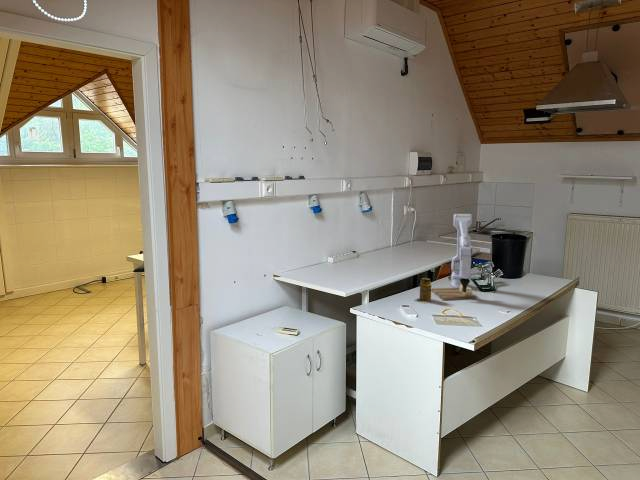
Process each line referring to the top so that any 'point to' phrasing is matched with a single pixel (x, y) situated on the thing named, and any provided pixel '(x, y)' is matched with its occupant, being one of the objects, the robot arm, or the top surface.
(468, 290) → the folding leg
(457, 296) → the stool seat
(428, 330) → the top surface
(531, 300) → the top surface
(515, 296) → the top surface
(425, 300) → the condiment
